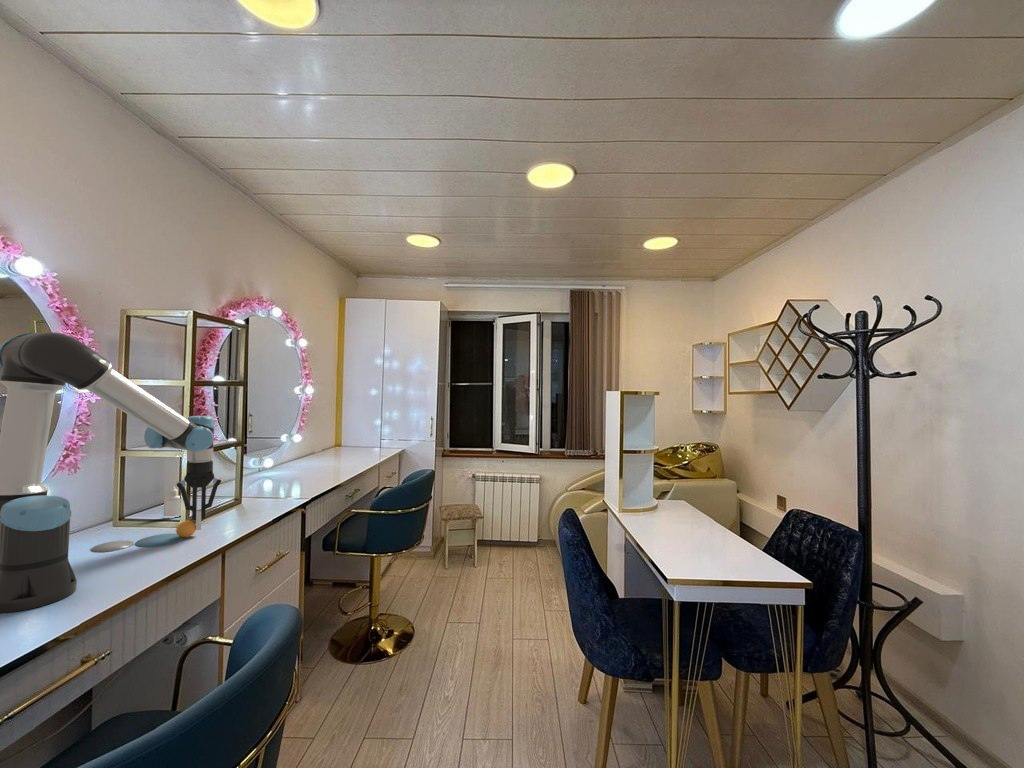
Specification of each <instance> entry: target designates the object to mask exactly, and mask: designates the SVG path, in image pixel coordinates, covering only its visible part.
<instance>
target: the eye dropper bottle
mask: <svg viewBox="0 0 1024 768" xmlns="http://www.w3.org/2000/svg"><path fill="white" fill-rule="evenodd" d="M178 494H179V490H178V489H176V486H172V489H170V490H169V496H166V497H165V498H164V503H163V504H164V505H163V517H164V516H175V515H178V514H179V508H180V496H181V495H178Z"/></svg>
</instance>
